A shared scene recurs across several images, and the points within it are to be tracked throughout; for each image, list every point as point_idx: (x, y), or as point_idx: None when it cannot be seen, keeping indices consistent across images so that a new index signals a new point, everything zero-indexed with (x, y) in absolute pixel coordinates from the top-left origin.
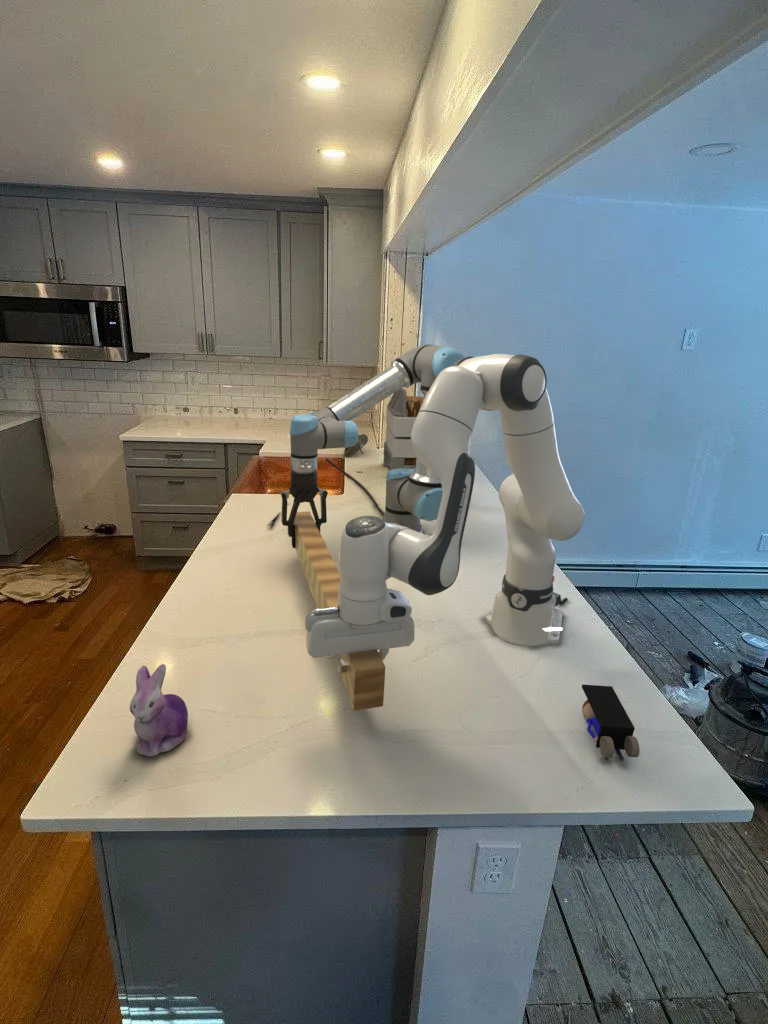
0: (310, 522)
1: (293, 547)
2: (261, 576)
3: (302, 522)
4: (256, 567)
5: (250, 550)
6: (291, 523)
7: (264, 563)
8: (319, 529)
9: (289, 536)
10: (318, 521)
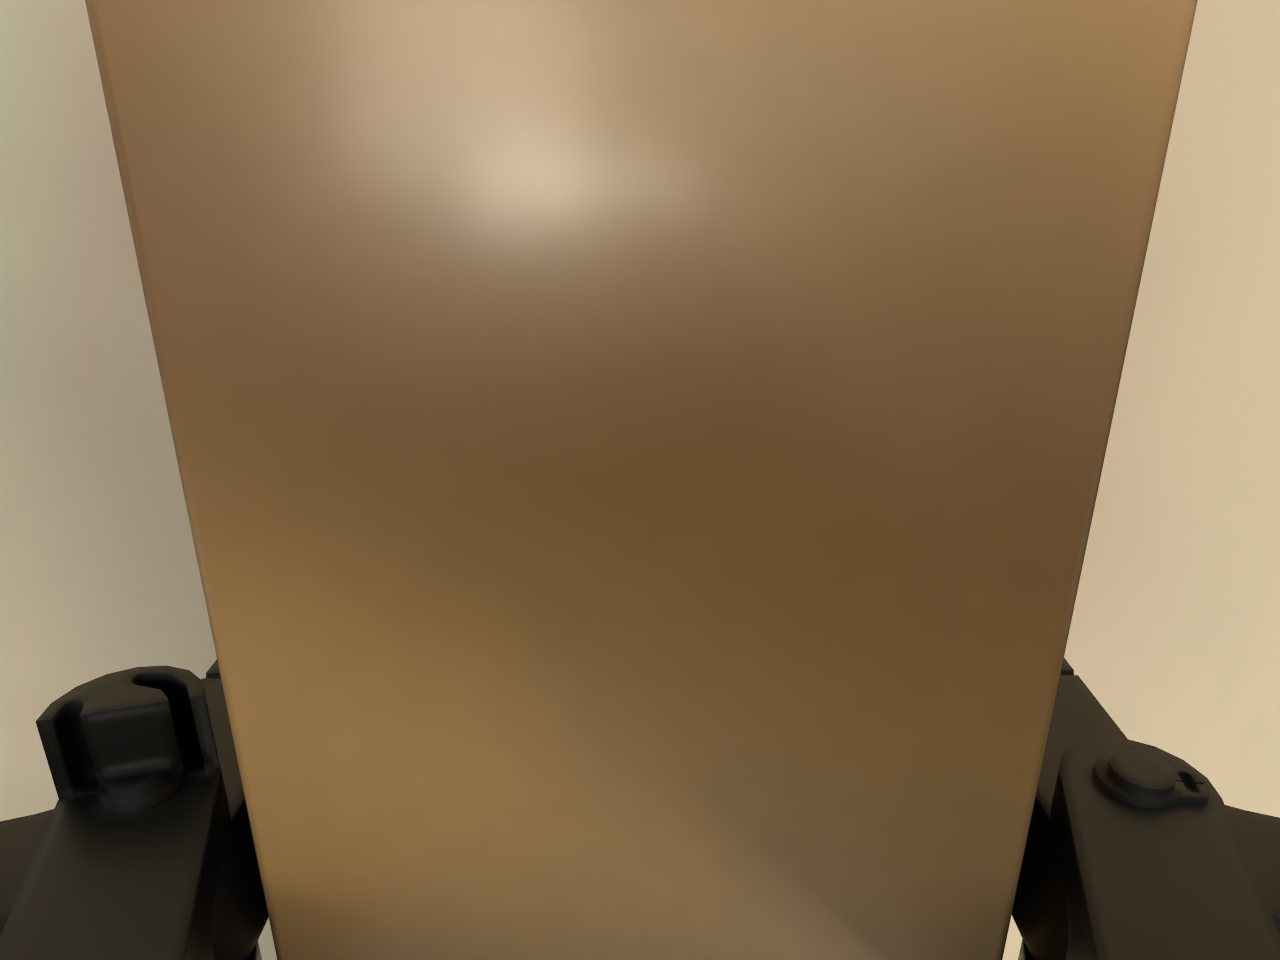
0: (421, 758)
1: None
2: (1228, 253)
3: (751, 803)
4: (1202, 514)
5: None
6: (1149, 836)
7: (1080, 598)
8: (217, 688)
9: None
10: (102, 847)
